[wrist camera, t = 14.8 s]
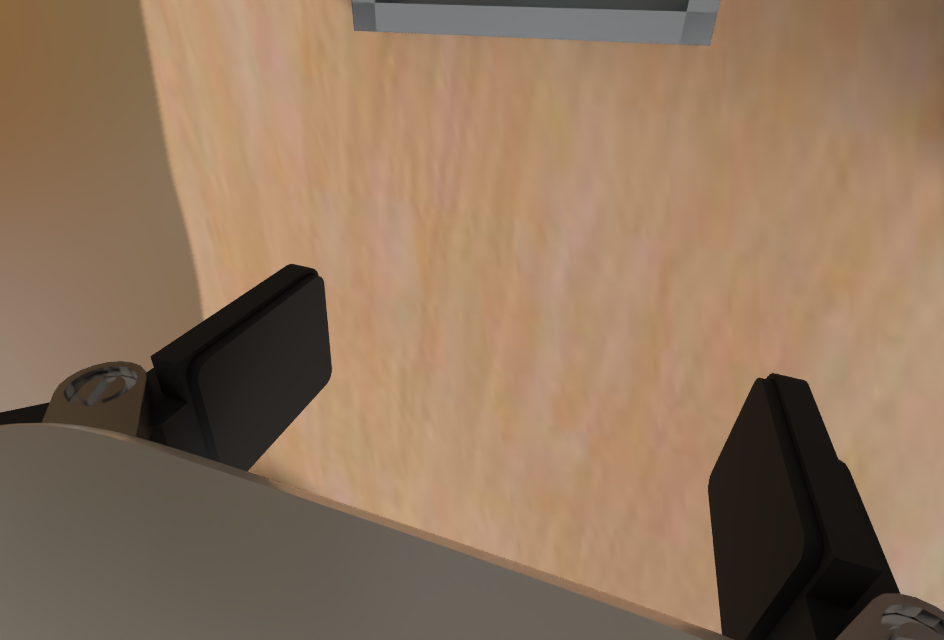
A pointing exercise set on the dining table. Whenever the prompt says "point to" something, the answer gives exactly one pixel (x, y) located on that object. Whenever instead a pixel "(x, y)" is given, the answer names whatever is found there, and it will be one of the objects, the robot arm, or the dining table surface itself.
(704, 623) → the dining table surface
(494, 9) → the tray
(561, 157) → the dining table surface
